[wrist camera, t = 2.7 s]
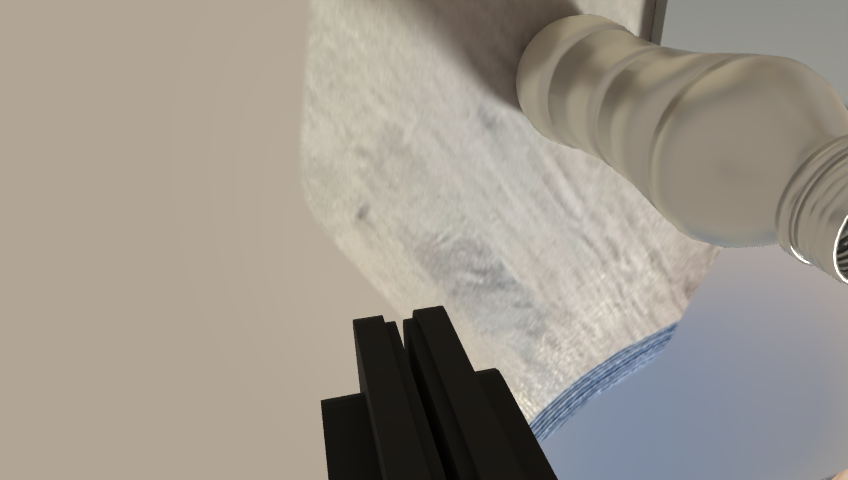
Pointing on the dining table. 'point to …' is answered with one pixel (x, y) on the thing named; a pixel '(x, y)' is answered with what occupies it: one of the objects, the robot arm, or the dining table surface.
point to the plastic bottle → (701, 134)
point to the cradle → (761, 31)
